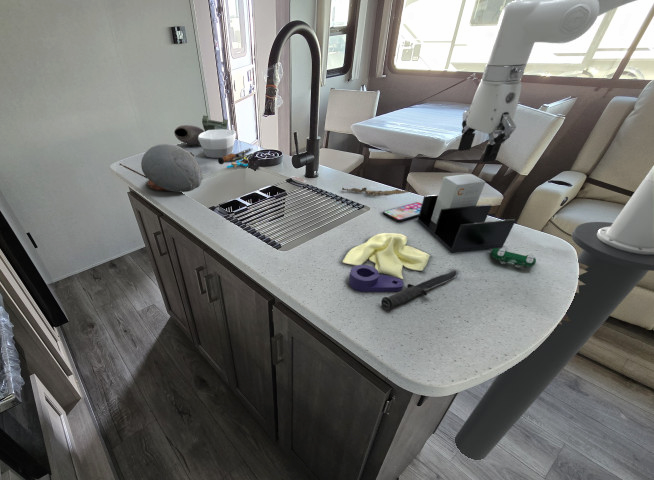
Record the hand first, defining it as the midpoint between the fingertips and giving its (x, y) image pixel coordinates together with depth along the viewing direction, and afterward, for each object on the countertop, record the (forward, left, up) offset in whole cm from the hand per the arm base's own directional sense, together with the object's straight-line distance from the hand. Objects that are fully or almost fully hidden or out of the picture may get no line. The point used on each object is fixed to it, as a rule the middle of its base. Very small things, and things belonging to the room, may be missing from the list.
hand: (475, 155), depth 82 cm
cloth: (+25, +12, -20) cm, 34 cm away
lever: (+32, +23, -20) cm, 44 cm away
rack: (+1, +4, -20) cm, 21 cm away
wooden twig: (+11, -29, -19) cm, 36 cm away
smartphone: (+8, -11, -20) cm, 24 cm away
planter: (+85, -107, -13) cm, 138 cm away
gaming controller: (-3, +20, -20) cm, 29 cm away
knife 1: (+60, -86, -19) cm, 106 cm away
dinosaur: (+51, -78, -16) cm, 95 cm away
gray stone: (+82, -50, -6) cm, 96 cm away
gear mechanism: (+52, -67, -17) cm, 86 cm away
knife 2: (+22, +26, -20) cm, 40 cm away
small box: (+1, 0, -19) cm, 19 cm away
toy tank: (+67, -119, -10) cm, 136 cm away
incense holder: (+90, -56, -20) cm, 108 cm away
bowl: (+66, -90, -20) cm, 114 cm away
